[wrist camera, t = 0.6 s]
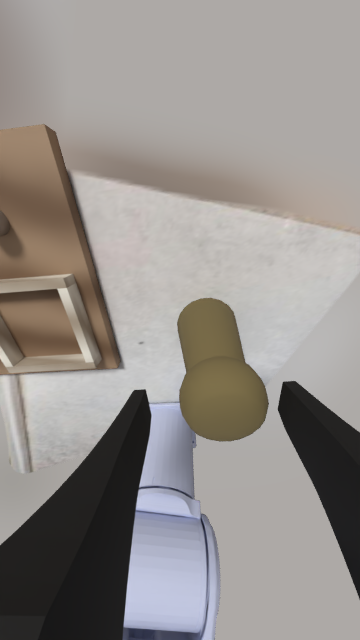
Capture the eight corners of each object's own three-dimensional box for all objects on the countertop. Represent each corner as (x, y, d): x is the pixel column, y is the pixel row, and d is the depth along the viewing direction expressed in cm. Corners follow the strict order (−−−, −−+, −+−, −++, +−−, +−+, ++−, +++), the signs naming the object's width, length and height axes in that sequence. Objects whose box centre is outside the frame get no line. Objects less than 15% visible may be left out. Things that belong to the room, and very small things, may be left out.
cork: (228, 351, 21) (266, 460, 12) (174, 346, 21) (166, 453, 12) (242, 301, 19) (305, 388, 9) (180, 295, 19) (175, 377, 9)
